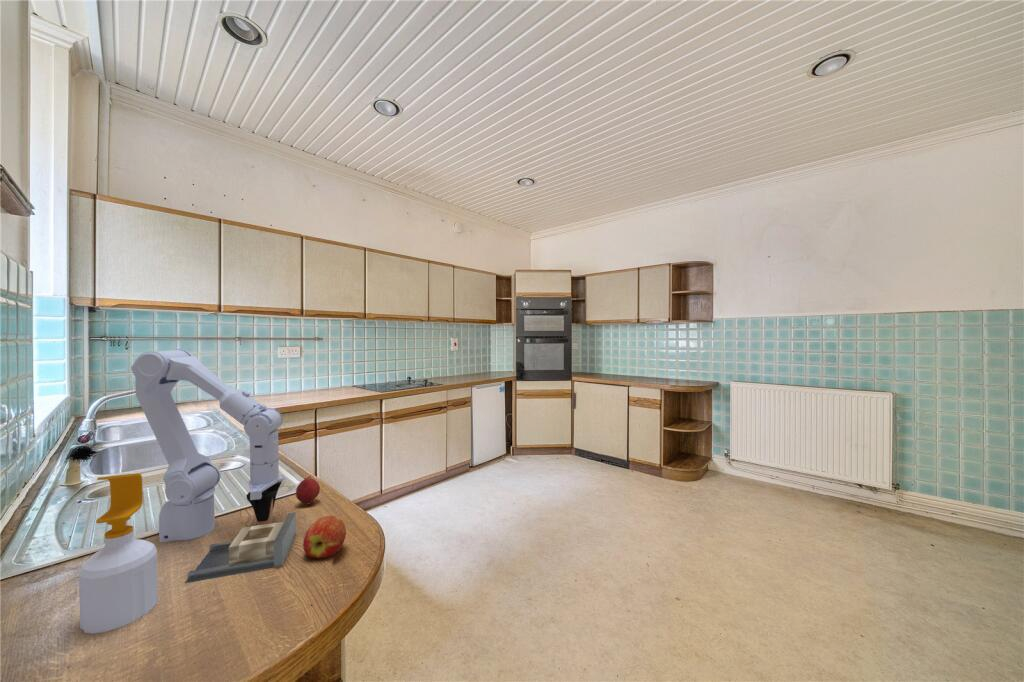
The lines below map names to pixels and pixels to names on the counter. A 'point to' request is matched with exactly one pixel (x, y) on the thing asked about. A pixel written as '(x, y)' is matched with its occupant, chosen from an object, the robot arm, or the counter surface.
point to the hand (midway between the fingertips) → (265, 517)
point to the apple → (324, 537)
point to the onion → (307, 490)
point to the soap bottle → (119, 565)
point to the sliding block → (254, 543)
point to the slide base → (219, 562)
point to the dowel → (270, 519)
